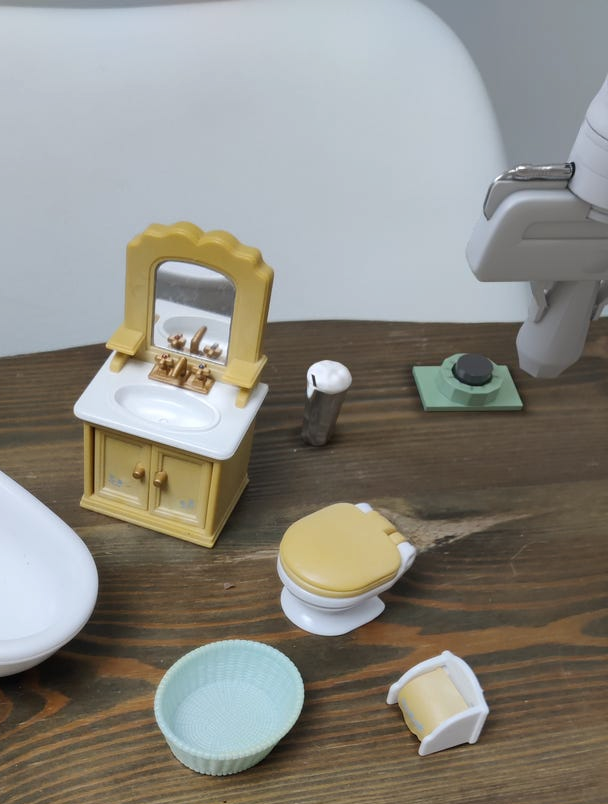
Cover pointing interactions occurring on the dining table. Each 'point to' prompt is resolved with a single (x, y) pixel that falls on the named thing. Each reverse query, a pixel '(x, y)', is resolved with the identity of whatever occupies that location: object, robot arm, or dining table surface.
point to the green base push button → (465, 389)
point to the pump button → (473, 369)
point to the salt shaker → (561, 324)
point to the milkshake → (324, 400)
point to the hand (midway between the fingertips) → (561, 317)
